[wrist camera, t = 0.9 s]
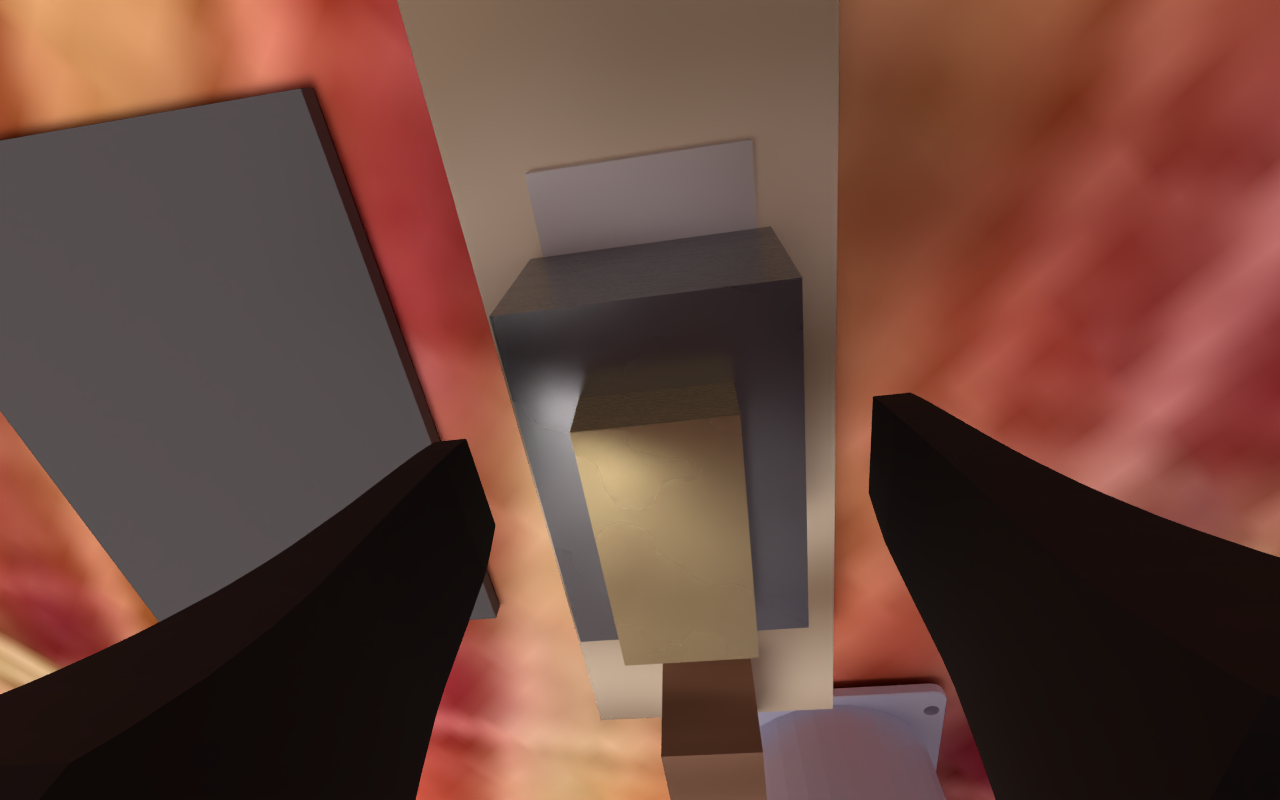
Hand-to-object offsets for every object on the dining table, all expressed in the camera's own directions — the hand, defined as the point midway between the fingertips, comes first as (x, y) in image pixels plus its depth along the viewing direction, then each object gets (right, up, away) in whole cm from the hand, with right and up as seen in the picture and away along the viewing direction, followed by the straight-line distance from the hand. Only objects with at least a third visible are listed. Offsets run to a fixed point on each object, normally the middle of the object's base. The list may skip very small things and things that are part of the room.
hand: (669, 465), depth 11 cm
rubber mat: (-12, 0, +7) cm, 14 cm away
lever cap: (0, +1, +2) cm, 2 cm away
